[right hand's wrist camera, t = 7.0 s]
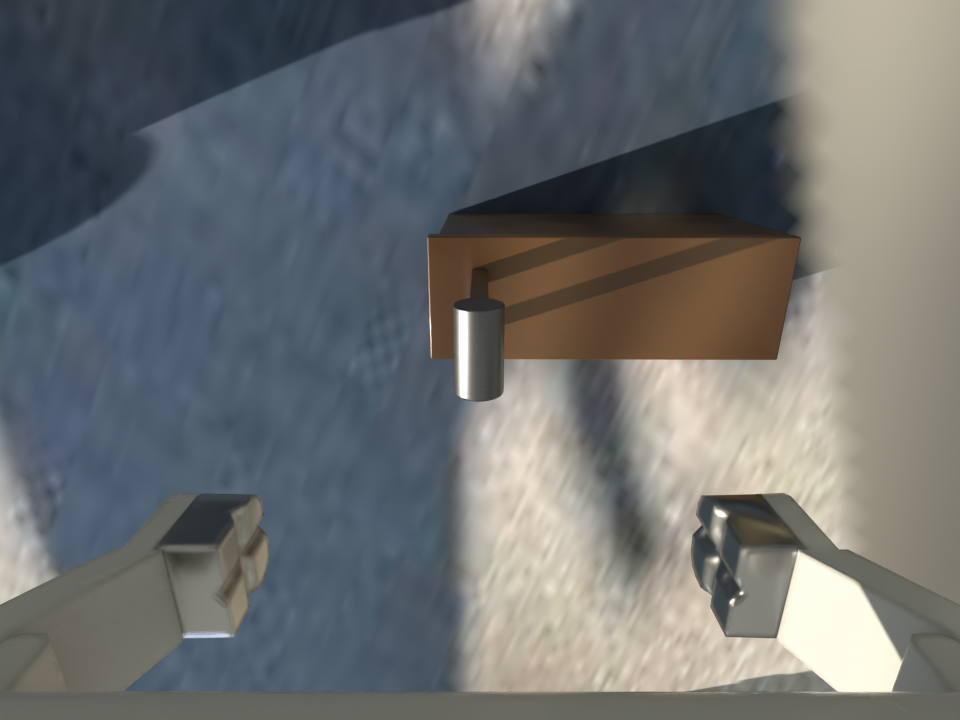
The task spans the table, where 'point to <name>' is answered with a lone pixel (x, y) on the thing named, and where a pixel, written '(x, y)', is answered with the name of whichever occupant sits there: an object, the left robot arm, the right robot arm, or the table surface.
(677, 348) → the lid
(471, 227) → the chest
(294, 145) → the table surface
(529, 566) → the table surface
